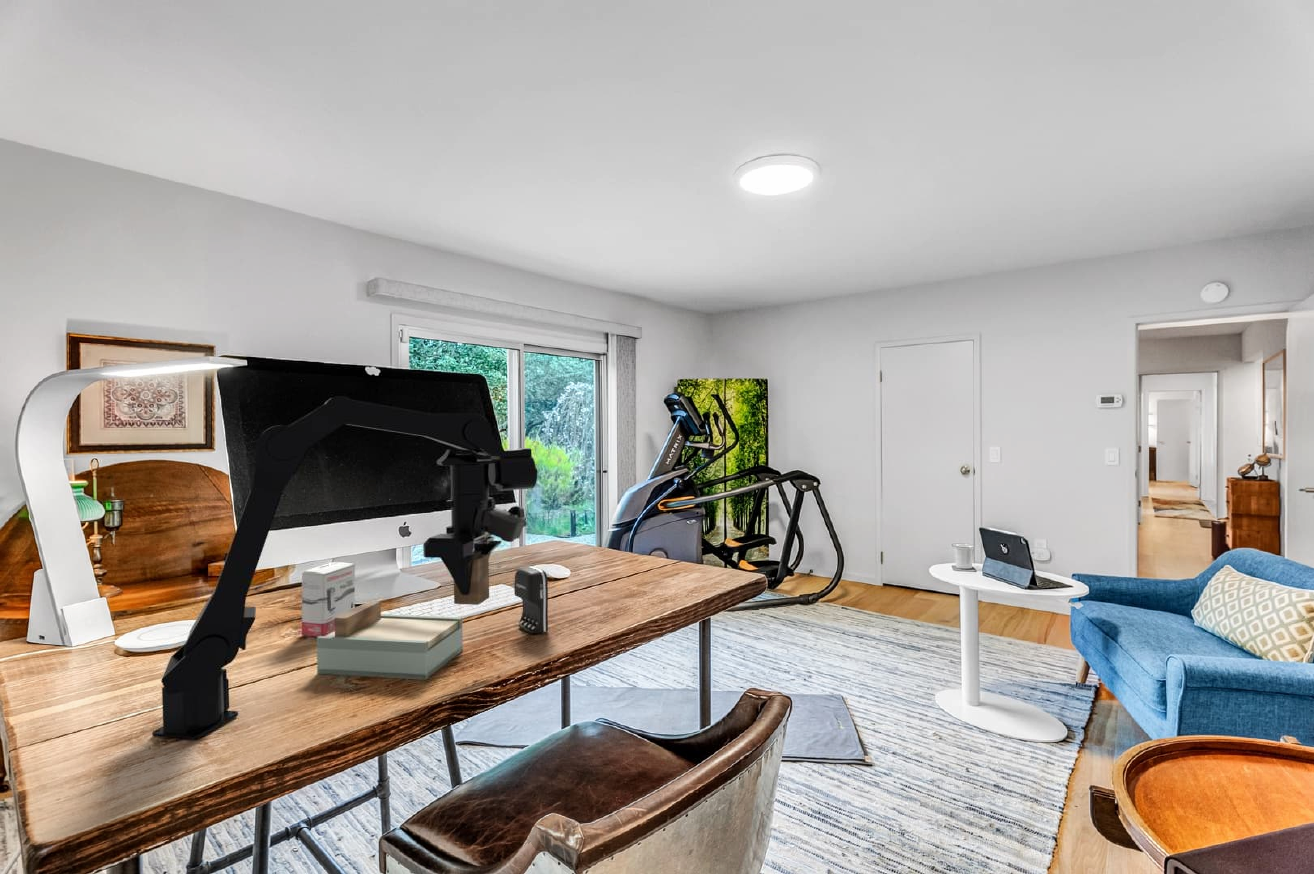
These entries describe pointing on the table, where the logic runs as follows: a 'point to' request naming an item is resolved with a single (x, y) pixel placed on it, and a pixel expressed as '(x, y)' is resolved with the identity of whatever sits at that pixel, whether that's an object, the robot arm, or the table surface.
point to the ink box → (326, 596)
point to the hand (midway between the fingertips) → (471, 590)
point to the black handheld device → (532, 599)
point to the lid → (389, 626)
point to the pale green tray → (388, 653)
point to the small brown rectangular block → (476, 583)
